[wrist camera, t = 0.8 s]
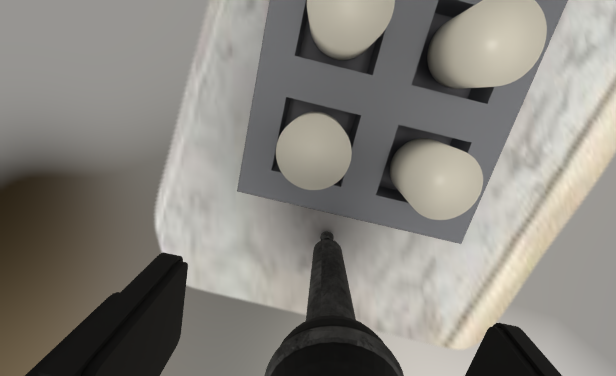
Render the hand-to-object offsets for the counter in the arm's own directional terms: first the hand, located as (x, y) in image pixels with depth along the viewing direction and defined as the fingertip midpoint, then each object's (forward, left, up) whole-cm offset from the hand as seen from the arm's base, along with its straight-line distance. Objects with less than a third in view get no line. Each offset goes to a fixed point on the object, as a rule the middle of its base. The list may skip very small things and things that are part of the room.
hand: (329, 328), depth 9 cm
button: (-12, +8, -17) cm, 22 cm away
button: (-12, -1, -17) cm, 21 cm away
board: (-7, +3, -20) cm, 22 cm away
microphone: (+7, +2, -21) cm, 22 cm away
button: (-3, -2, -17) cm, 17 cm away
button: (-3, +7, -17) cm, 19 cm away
